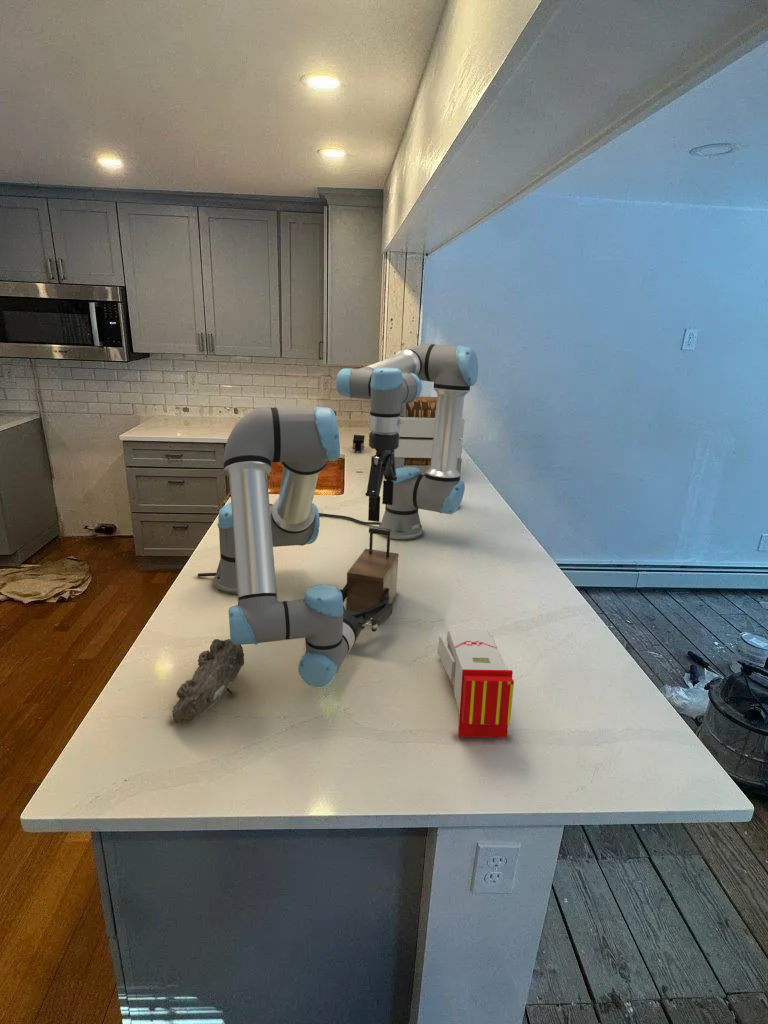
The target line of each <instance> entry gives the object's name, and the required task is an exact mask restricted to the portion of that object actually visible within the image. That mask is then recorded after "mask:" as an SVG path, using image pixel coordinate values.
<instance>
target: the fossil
mask: <svg viewBox="0 0 768 1024" xmlns="http://www.w3.org/2000/svg"><path fill="white" fill-rule="evenodd" d="M197 665H198V667H197V668H196V670H195V671H194V673H193V675H192V678H191V679H187V680H186V681H185V682H184V683H182V684H181V685H180V686H179V687H178V689H177V691H176V693H175V694H176V696H177V698H179V699H178V700H177V702H176V704H174V705H173V706H172V711H171V713H172V714H171V715H172V720H173V722H178V724H186V723H190V722H195V721H197V720H198V719H199V718H201V716H202V715H203V714H205V713H206V712H207V711H208V710H209V709H210V708H211V707H212V706H213V705H215V703H217V702H218V701H219V699H220V698H221V696H222V694H223V693H226V691H227V692H228V693H229V694H230V695H233V694H234V692H233V691H232V689H230V688H229V686H230V684H231V683H234V682H235V680H236V679H237V678H238V675H239V673H240V671H241V669H242V667H243V666H245V653H244V648H243V646H242V645H235V644H233V643H232V641H231V639H230V638H226V639H225V640H223V639H219V638H214V639H213V640H212V641H211V644H210V646H209V650H204V651H201V653H199V655H198V659H197Z"/></svg>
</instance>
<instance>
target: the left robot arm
mask: <svg viewBox="0 0 768 1024" xmlns="http://www.w3.org/2000/svg"><path fill="white" fill-rule="evenodd" d="M339 432H340V431H339V424H338V419H337V415H336V412H335V411H334V410H333V409H332V408H331V407H326V406H325V407H324V406H317V405H315V406H283V407H282V406H281V407H279V406H275V407H270V406H263V407H258V408H255V409H253V410H251V411H249V412H247V413H246V414H245V415H243V416H242V417H241V418H240V419H239V420H238V421H237V422H236V424H235V425H234V426H233V428H232V430H231V432H230V434H229V436H228V437H227V441H226V443H225V446H224V451H223V461H222V462H223V473H224V474H225V476H226V477H228V478H229V490H230V494H231V497H230V501H231V502H229V503H227V504H225V505H223V506H222V507H221V508H220V509H219V511H218V517H217V518H218V521H217V528H218V535H219V554H220V556H219V557H220V559H219V562H218V565H217V568H216V572H202V573H201V572H200V573H197V577H198V578H199V577H200V578H201V577H202V578H203V577H214V585H215V588H217V589H218V591H221V592H224V593H227V594H233V595H237V604H235V605H233V606H231V607H229V609H228V625H229V639H231V641H232V643H233V644H235V645H241V646H242V645H243V646H244V645H258V644H264V643H272V642H278V641H288V640H296V639H304V641H305V643H304V644H305V647H304V648H305V651H304V654H303V655H302V656H301V658H300V660H299V663H298V666H297V671H298V674H299V677H300V679H301V680H302V681H303V682H304V683H305V684H307V685H308V686H310V687H314V688H324V687H326V686H328V685H330V684H331V683H332V681H333V680H334V678H335V677H336V676H338V674H339V671H340V669H341V668H342V665H343V663H344V662H345V659H346V658H347V656H348V655H349V653H350V652H351V649H352V648H353V646H354V644H355V643H356V641H357V640H358V637H359V636H360V633H361V632H362V631H363V630H364V629H365V628H369V629H371V632H377V630H378V627H380V626H381V624H383V623H384V622H385V621H386V620H387V619H389V618H390V617H391V616H392V615H393V610H394V604H393V603H389V600H390V598H389V588H386V589H385V591H384V593H383V594H382V596H381V598H380V599H379V603H378V604H375V605H373V606H371V607H369V608H367V609H361V610H359V611H351V610H347V609H346V607H345V605H344V602H345V600H347V583H346V584H345V585H344V586H343V588H342V589H341V588H340V589H339V588H337V586H334V585H330V584H316V585H314V586H310V587H308V589H306V591H305V592H304V597H303V598H301V599H291V600H281V601H280V600H279V601H278V593H277V592H278V590H277V581H276V567H275V555H274V554H275V553H274V548H277V547H278V548H279V547H292V546H301V547H302V546H305V545H312V544H314V543H315V542H316V540H317V539H318V537H319V532H320V530H319V529H320V521H321V520H320V515H319V513H320V511H319V508H318V506H317V505H316V504H315V503H313V502H314V501H313V500H314V496H315V492H316V487H317V484H318V478H319V474H320V473H321V472H322V471H324V469H325V468H326V467H327V465H328V463H329V462H333V461H338V460H339V459H340V456H341V443H340V442H341V441H340V434H339ZM272 463H280V464H281V465H282V471H281V472H282V473H281V480H280V488H279V496H278V498H276V500H275V501H274V502H273V505H269V504H270V496H269V494H270V493H269V482H268V476H269V474H270V473H271V472H272Z"/></svg>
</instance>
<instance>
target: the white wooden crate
mask: <svg viewBox="0 0 768 1024" xmlns="http://www.w3.org/2000/svg"><path fill="white" fill-rule="evenodd" d="M436 405H437V396H418V397H417V398H416V399H415V400H413V401H411V402H409V403H404V404H401V410H400V420H402V424H400V427H399V431H398V432H397V433H398V434H399V447H398V448H397V449H395V450H394V455H395V467H396V469H397V468H404V467H405V466H406V467H417V466H418V467H430V466H431V456H432V446H433V436H434V426H435V415H436ZM464 429H465V419H464V418H462V422H461V431H460V440H459V449H458V458H457V467H456V469H457V471H458V472H459V473H460V475H461V472H462V461H463V460H462V453H463V442H464V441H463V440H462V439H463V438H464V431H465V430H464Z"/></svg>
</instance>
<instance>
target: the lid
mask: <svg viewBox="0 0 768 1024" xmlns="http://www.w3.org/2000/svg"><path fill="white" fill-rule="evenodd" d="M391 533H392V530H391V529H387V528H379V526H373V525H369V528H368V534H369V545H368V548H365V549H364V550H363V551H362V552H361V554H360V555H359V556H358V558H357V559H356V560H355V561H354V562H353V564H352V566H351V567H350V568H349V569H348V571H347V572H346V578H347V577H351V578H357V579H363V580H369V581H375V582H382V583H384V581H385V579H386V578H387V576H388V574H389V573H390V571H391V569H392V568H393V566H394V564H395V563H396V561H397V559H398V560H399V558H400V556H399V555H400V553H399V552H392V551H390V550H391V539H390V536H391ZM374 535H379V536H383V535H386V536H387V537H386V551H385V550H379V549H378V550H377V549H373V544H374V543H373V541H374Z"/></svg>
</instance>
